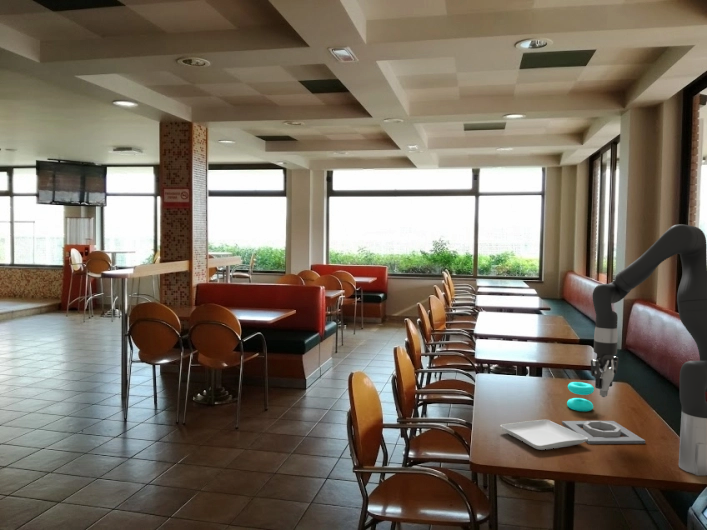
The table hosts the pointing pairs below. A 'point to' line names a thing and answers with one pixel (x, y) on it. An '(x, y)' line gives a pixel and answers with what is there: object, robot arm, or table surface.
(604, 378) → the lightbulb
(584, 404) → the donuts
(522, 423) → the salad plate
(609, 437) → the bulb socket stand
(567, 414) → the table surface
